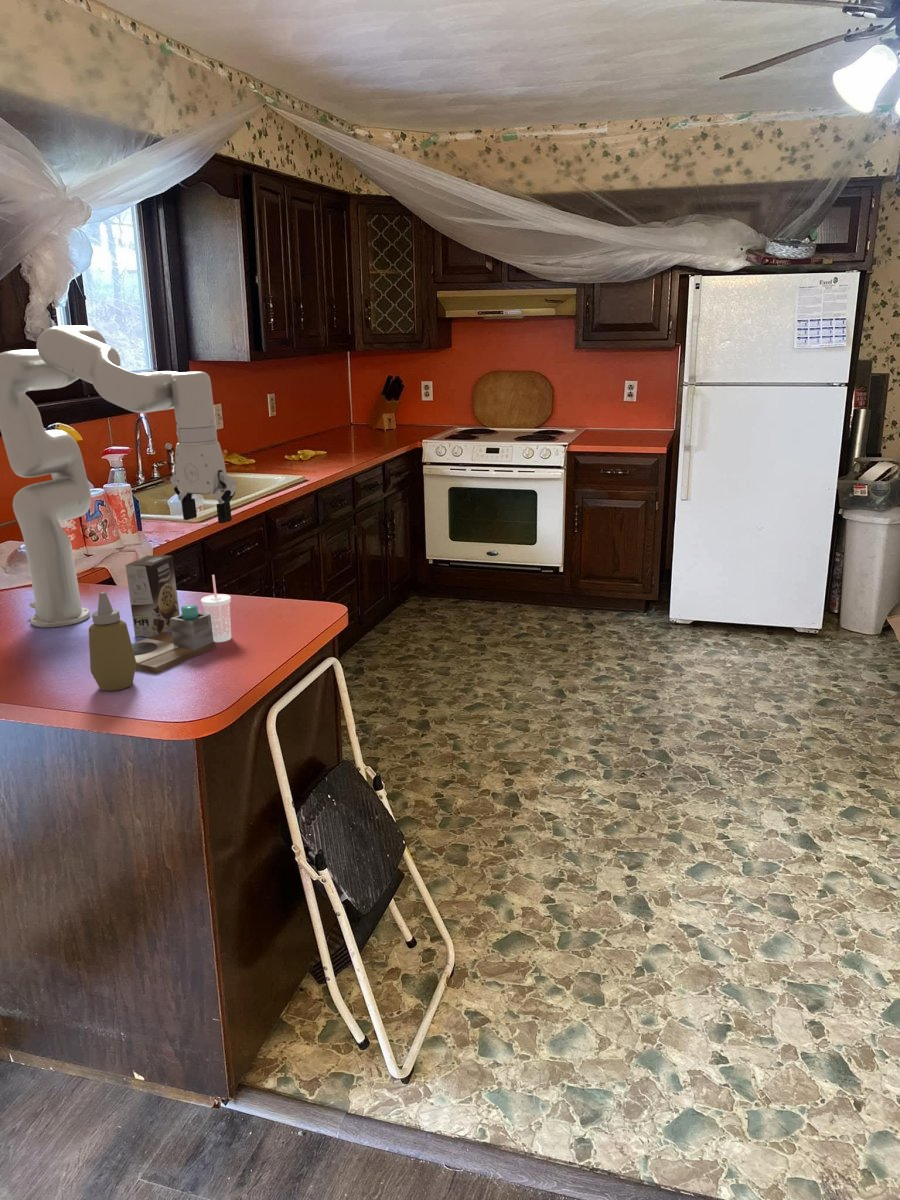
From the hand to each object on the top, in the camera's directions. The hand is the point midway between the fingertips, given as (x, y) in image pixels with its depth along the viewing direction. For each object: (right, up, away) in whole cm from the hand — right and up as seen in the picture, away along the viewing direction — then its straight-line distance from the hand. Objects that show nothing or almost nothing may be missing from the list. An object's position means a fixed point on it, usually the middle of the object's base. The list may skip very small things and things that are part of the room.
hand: (207, 520), depth 182 cm
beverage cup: (+1, -25, +8) cm, 26 cm away
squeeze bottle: (-13, -32, -16) cm, 38 cm away
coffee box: (-15, -23, +14) cm, 31 cm away
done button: (-3, -21, 0) cm, 21 cm away
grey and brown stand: (-9, -27, 0) cm, 29 cm away
